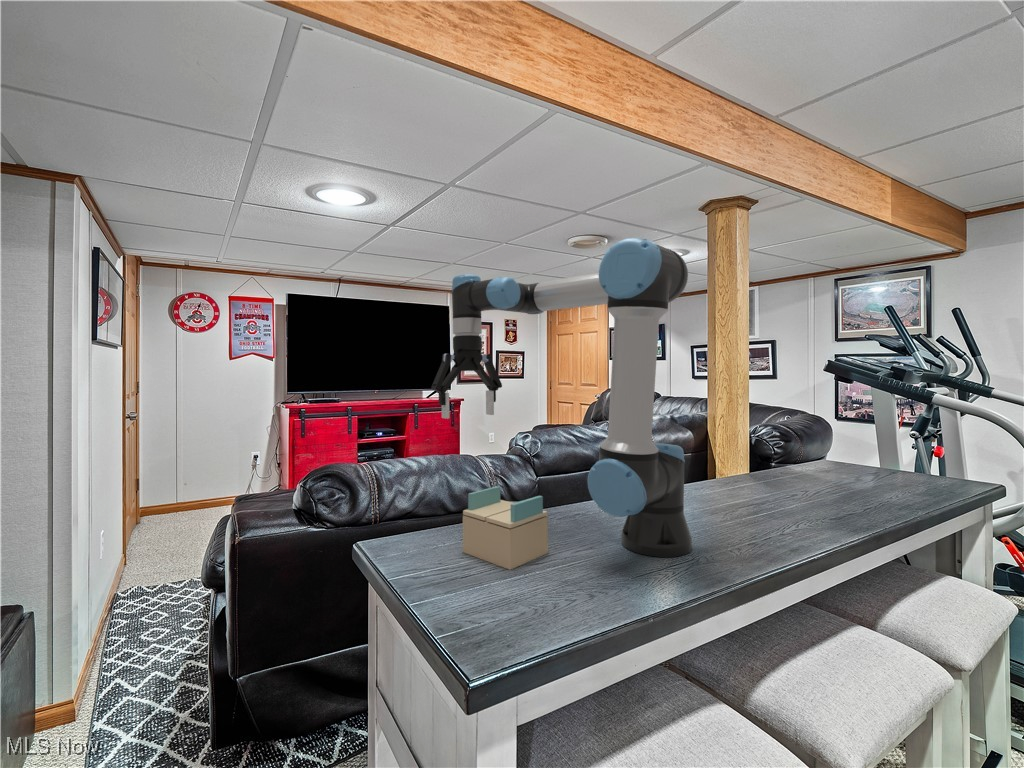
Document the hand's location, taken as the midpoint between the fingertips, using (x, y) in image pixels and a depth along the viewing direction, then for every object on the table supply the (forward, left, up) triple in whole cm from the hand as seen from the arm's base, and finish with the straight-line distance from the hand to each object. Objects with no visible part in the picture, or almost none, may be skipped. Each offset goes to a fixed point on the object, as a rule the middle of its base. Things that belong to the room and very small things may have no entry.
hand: (468, 416), depth 132 cm
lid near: (-27, +11, -19) cm, 35 cm away
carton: (-24, +11, -27) cm, 38 cm away
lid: (-20, +11, -19) cm, 30 cm away
